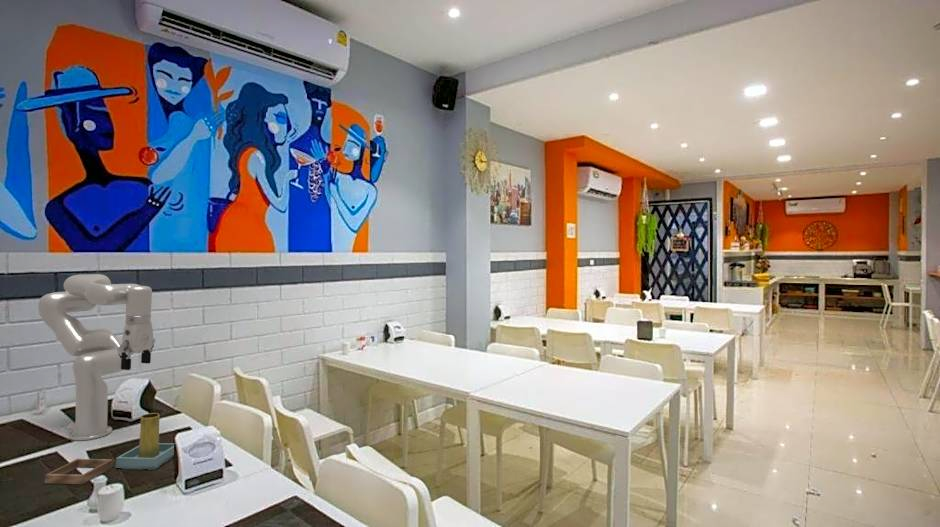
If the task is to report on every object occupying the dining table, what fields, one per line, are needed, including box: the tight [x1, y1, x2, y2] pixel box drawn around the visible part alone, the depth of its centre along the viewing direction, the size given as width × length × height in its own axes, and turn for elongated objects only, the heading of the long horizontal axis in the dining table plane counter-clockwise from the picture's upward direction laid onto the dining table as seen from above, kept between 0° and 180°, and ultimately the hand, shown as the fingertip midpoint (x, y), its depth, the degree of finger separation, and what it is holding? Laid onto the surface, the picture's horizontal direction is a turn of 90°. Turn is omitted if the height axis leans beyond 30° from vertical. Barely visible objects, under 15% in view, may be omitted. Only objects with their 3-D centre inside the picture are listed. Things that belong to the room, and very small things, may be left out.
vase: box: [138, 412, 161, 458], centre depth 157 cm, size 6×6×14 cm
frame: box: [44, 458, 114, 485], centre depth 146 cm, size 12×12×2 cm
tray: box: [115, 442, 175, 471], centre depth 157 cm, size 13×13×4 cm
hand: (136, 366), depth 170 cm, fingers open, 9 cm apart
